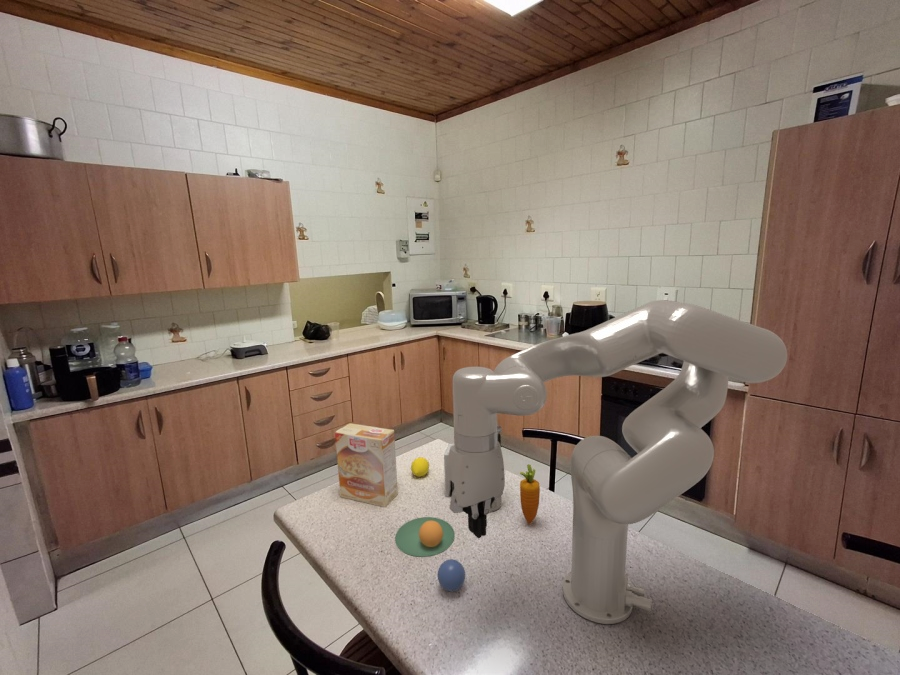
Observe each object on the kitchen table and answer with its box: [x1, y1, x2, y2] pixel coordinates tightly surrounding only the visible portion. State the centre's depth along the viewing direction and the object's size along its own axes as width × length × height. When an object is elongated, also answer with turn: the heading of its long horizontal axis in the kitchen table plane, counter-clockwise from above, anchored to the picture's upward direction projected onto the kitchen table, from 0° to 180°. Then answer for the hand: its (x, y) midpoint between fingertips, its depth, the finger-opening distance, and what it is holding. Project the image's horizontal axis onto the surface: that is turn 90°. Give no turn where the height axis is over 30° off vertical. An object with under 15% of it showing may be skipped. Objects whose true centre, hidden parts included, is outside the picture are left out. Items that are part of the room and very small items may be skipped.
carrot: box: [519, 464, 541, 525], centre depth 99 cm, size 5×5×15 cm
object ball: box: [419, 521, 443, 547], centre depth 93 cm, size 6×6×6 cm
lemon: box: [410, 456, 430, 478], centre depth 125 cm, size 7×5×5 cm
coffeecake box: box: [334, 422, 399, 508], centre depth 113 cm, size 15×7×20 cm, turn 67°
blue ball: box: [437, 558, 466, 592], centre depth 81 cm, size 6×6×6 cm
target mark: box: [394, 516, 456, 558], centre depth 97 cm, size 14×14×1 cm
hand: (477, 532), depth 74 cm, fingers closed
